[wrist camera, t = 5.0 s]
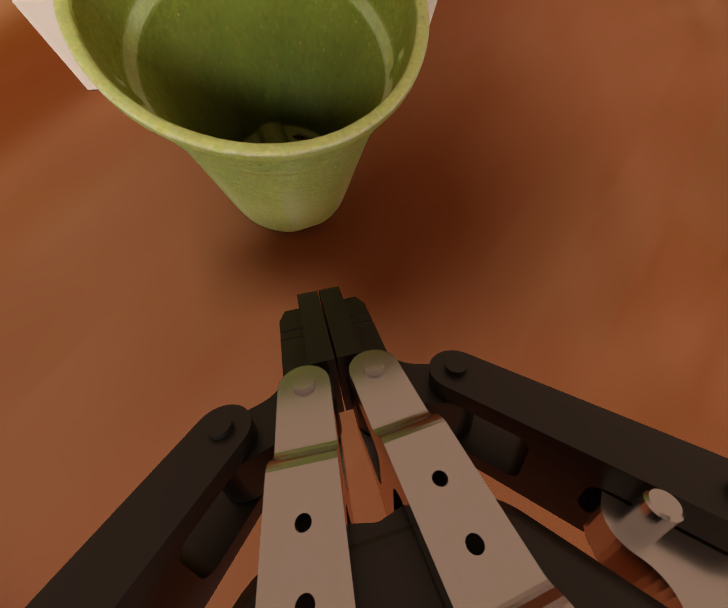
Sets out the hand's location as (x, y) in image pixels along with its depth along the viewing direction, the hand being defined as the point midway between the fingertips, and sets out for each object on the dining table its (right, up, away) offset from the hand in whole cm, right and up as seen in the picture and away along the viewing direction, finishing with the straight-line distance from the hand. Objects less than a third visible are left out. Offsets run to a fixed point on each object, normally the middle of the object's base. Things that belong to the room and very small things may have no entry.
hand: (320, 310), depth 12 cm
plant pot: (-2, +7, +5) cm, 9 cm away
